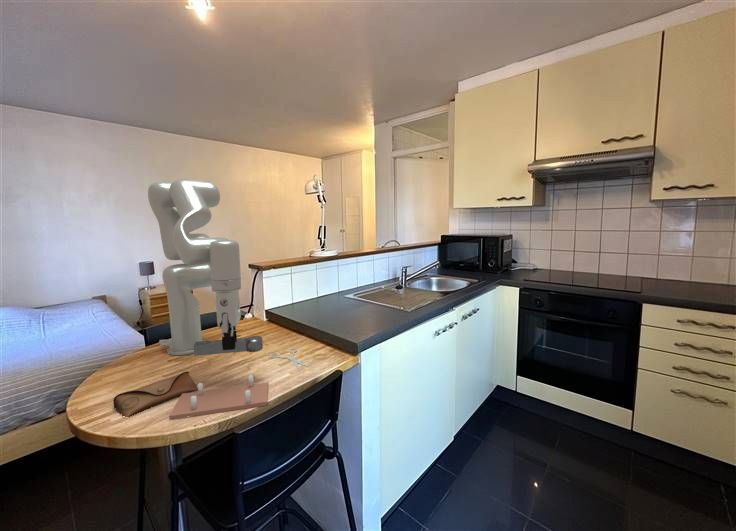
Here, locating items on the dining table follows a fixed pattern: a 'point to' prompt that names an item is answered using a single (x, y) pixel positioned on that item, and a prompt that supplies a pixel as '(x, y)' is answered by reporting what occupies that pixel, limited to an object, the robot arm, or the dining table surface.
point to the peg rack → (221, 399)
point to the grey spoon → (216, 348)
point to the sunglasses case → (153, 394)
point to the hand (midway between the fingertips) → (230, 346)
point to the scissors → (289, 358)
